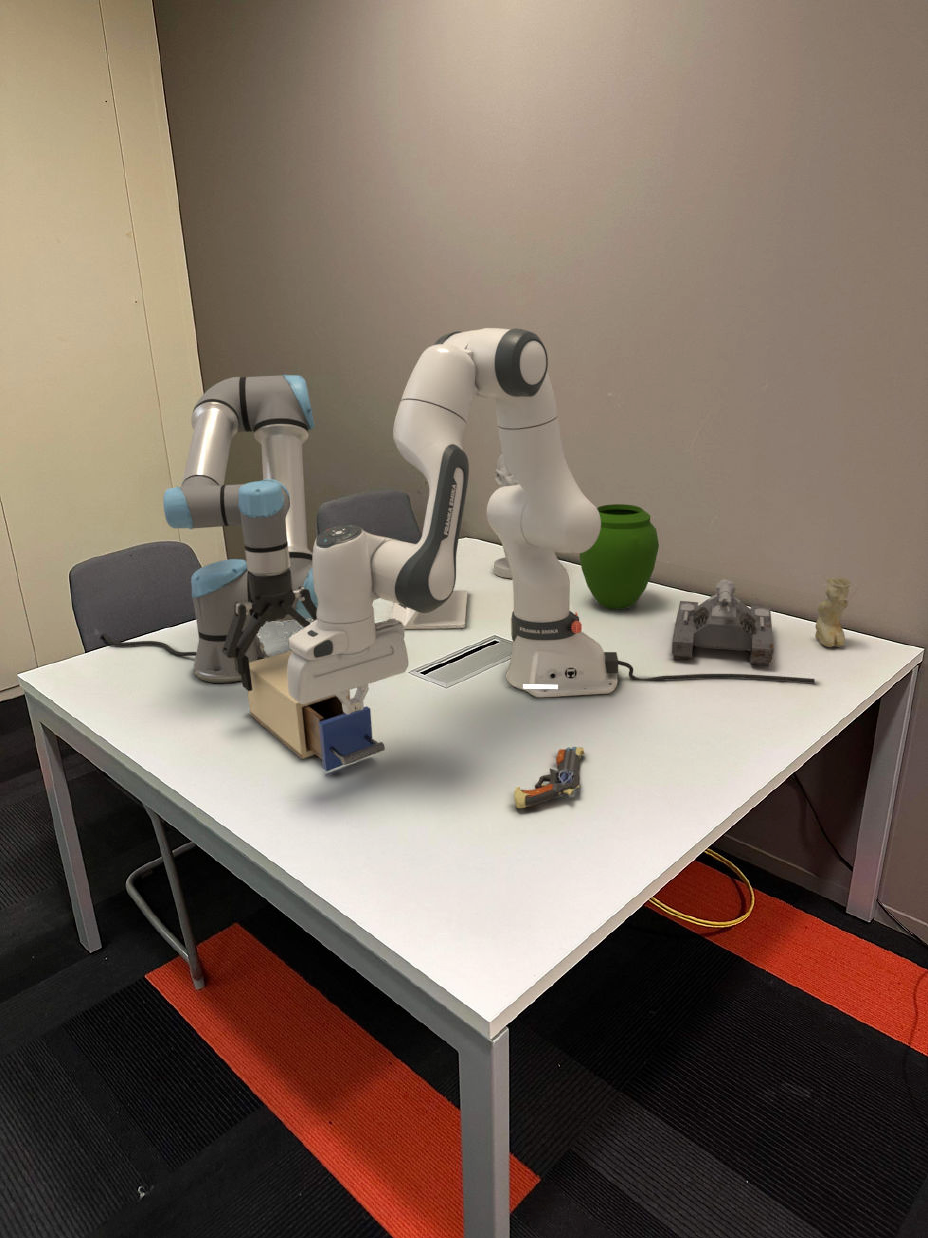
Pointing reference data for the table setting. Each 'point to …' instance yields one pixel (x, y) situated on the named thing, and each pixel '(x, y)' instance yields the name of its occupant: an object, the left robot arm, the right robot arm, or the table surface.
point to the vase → (620, 556)
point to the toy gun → (554, 780)
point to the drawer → (338, 733)
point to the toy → (724, 626)
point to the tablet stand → (434, 614)
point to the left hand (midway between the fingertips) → (281, 678)
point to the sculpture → (832, 613)
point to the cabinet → (278, 703)
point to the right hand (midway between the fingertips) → (353, 711)
